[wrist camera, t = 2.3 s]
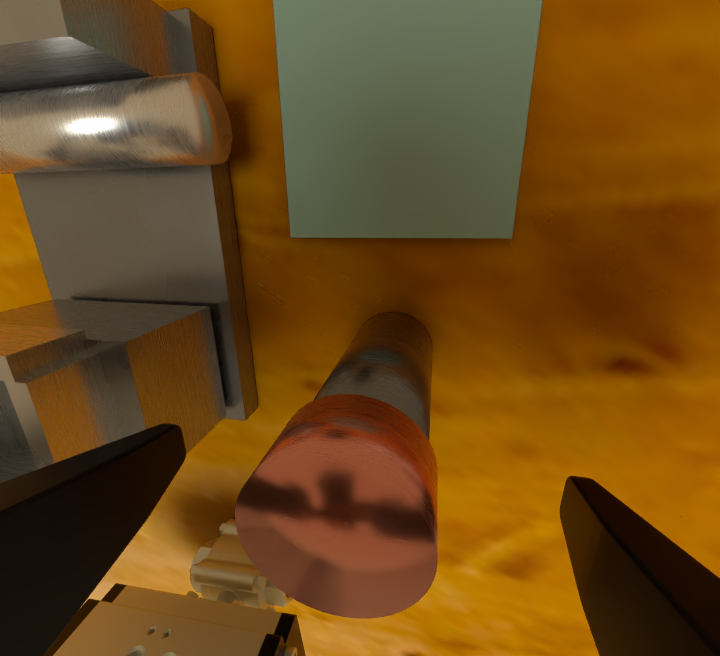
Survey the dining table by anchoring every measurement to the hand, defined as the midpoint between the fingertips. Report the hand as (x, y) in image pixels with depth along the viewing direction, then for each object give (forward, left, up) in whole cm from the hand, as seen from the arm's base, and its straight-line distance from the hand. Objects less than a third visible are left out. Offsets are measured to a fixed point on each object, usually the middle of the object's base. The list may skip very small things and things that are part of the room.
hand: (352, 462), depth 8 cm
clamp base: (-11, +4, -7) cm, 14 cm away
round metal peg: (0, 0, -7) cm, 7 cm away
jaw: (-11, 0, -5) cm, 12 cm away
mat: (0, +9, -7) cm, 11 cm away
